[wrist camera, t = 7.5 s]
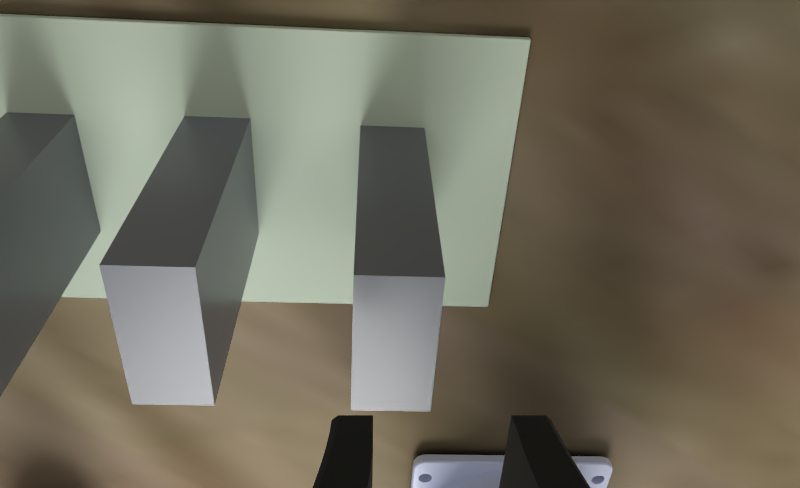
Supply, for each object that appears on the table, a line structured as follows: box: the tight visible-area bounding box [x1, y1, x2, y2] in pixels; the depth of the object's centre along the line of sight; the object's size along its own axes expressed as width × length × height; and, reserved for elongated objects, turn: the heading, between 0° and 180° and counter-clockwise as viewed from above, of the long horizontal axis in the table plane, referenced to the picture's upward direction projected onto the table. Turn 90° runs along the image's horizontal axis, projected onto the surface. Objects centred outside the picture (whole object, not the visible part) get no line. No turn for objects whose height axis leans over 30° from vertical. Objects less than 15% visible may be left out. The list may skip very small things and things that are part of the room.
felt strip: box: [0, 14, 531, 307], centre depth 20 cm, size 9×26×1 cm, turn 87°
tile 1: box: [351, 125, 445, 411], centre depth 17 cm, size 2×4×7 cm, turn 177°
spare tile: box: [99, 116, 259, 405], centre depth 17 cm, size 2×4×7 cm, turn 177°
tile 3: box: [0, 112, 101, 396], centre depth 17 cm, size 2×4×7 cm, turn 177°
